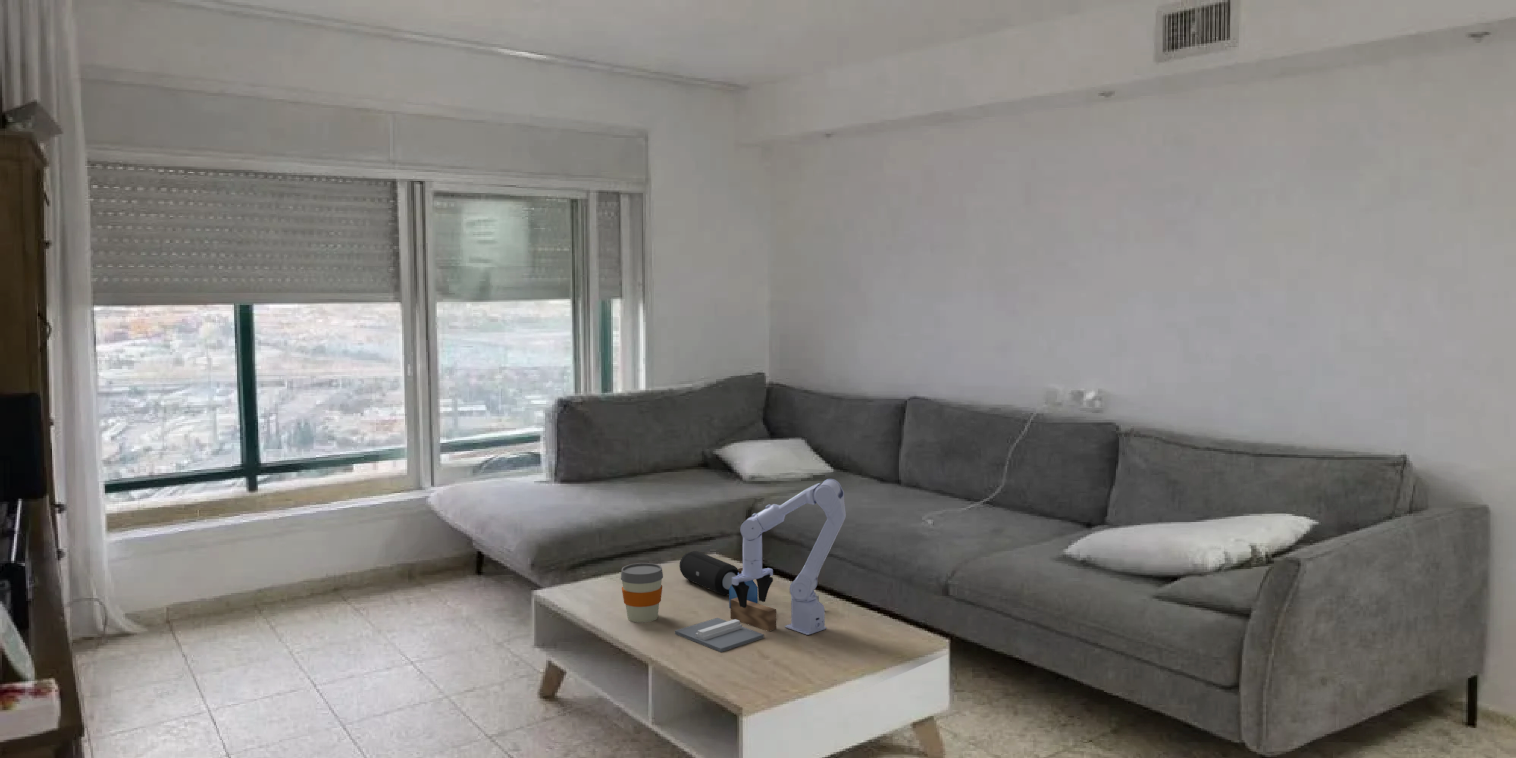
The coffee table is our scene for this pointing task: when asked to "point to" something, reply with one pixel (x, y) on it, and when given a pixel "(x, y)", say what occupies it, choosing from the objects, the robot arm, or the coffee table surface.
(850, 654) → the coffee table surface
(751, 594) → the perfume bottle
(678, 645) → the coffee table surface
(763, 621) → the walnut bar
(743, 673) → the coffee table surface
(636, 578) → the reusable coffee cup
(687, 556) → the portable speaker
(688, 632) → the ridge stand
